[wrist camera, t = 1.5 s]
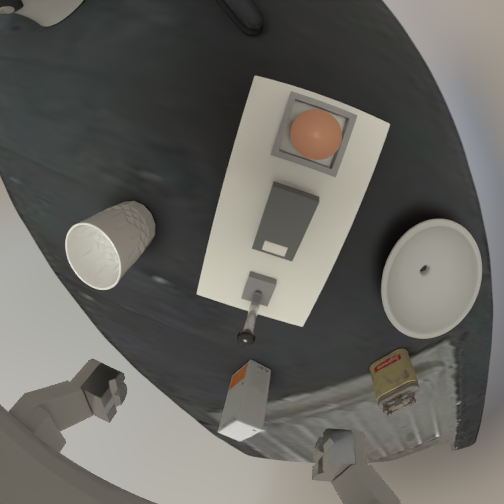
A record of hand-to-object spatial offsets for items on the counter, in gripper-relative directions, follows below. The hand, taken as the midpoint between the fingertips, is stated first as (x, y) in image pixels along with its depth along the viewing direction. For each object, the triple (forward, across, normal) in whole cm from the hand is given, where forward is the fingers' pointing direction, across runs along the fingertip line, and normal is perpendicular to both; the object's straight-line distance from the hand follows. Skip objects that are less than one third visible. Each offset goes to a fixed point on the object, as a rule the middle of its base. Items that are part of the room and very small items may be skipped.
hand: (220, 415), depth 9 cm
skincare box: (+28, -1, +26) cm, 38 cm away
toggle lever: (+22, 0, +7) cm, 23 cm away
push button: (+20, -1, -11) cm, 23 cm away
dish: (+27, -20, +1) cm, 33 cm away
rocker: (+21, 0, -2) cm, 21 cm away
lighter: (+28, -23, +18) cm, 41 cm away
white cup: (+25, +18, +4) cm, 31 cm away
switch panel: (+25, 0, -2) cm, 25 cm away
